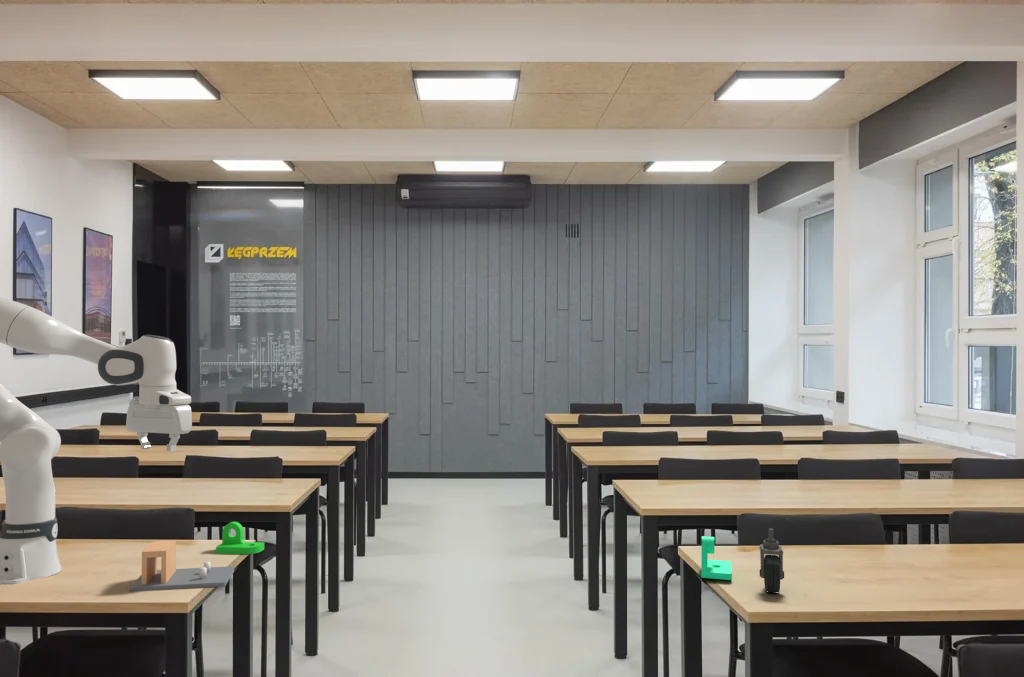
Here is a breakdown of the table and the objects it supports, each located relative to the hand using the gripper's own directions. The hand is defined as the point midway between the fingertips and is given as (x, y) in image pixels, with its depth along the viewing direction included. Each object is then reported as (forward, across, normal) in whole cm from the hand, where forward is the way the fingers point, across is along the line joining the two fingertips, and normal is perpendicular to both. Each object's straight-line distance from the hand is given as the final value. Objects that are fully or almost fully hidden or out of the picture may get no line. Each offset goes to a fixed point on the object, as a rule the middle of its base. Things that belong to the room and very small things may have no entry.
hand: (158, 450), depth 195 cm
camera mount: (+36, +132, +63) cm, 151 cm away
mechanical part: (+34, 0, +28) cm, 44 cm away
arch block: (+32, +4, -4) cm, 32 cm away
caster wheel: (+36, +147, +55) cm, 161 cm away
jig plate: (+33, +9, 0) cm, 34 cm away
